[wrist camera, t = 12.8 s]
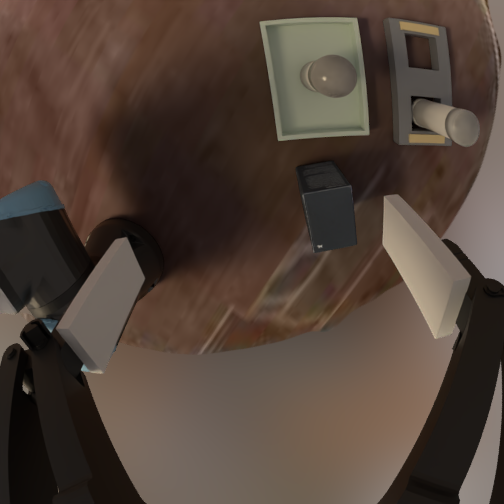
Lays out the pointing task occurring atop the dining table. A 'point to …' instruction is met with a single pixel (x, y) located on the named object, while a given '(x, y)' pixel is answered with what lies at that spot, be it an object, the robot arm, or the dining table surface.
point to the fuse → (446, 121)
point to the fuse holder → (416, 78)
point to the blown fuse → (329, 76)
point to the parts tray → (299, 97)
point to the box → (327, 206)
